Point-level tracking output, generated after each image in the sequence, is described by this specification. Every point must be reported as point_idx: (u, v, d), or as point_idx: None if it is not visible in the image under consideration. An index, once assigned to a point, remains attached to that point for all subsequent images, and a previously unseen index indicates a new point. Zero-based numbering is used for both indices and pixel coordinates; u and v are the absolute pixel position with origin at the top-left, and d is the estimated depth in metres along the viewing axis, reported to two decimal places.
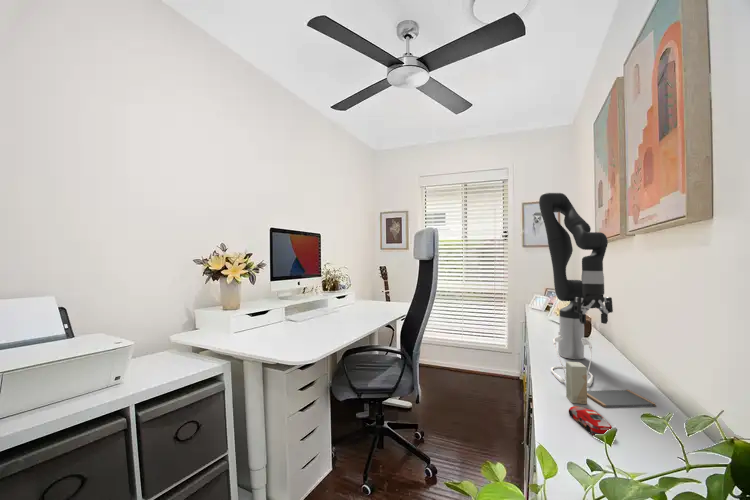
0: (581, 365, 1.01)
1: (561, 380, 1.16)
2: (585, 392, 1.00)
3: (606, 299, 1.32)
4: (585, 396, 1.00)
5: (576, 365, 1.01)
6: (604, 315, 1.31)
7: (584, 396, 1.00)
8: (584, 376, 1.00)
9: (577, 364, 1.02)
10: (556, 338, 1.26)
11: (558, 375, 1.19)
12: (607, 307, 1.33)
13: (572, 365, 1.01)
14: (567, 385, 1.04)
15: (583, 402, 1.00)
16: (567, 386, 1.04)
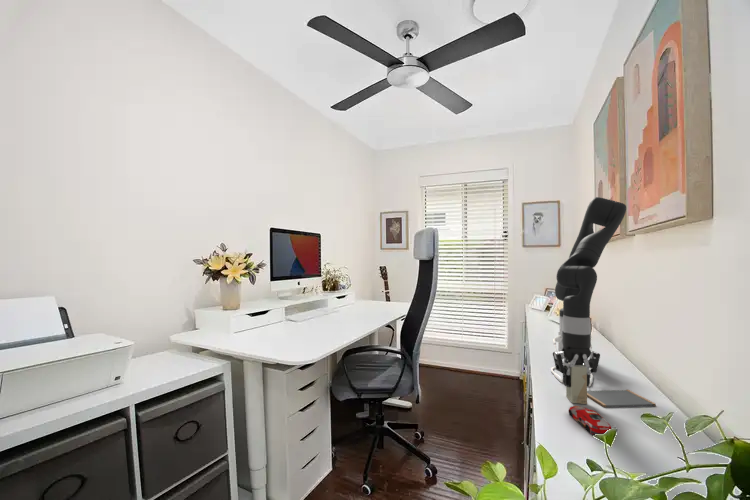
0: (581, 365, 1.01)
1: (561, 380, 1.16)
2: (585, 392, 1.00)
3: (593, 354, 1.02)
4: (585, 396, 1.00)
5: (576, 365, 1.01)
6: None
7: (584, 396, 1.00)
8: (584, 376, 1.00)
9: (577, 364, 1.02)
10: (556, 338, 1.26)
11: (558, 375, 1.19)
12: (591, 364, 1.03)
13: None
14: None
15: (583, 402, 1.00)
16: None
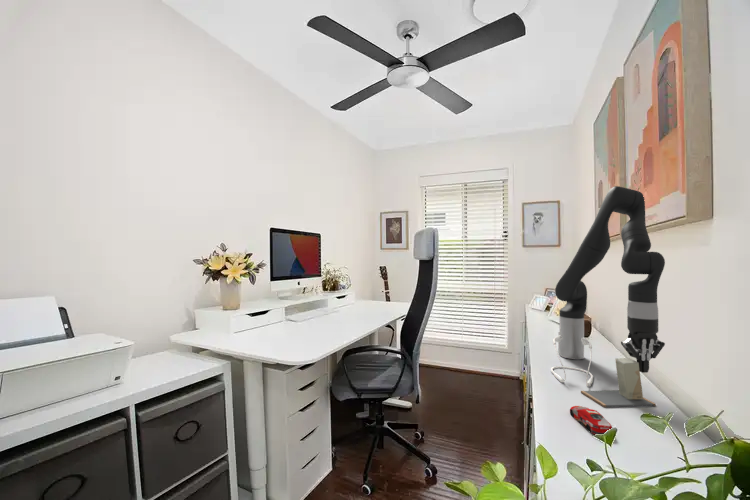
0: (632, 361, 1.02)
1: (561, 380, 1.16)
2: (640, 387, 1.01)
3: (657, 342, 1.03)
4: (640, 391, 1.01)
5: (627, 361, 1.02)
6: (645, 362, 1.03)
7: (639, 391, 1.01)
8: (637, 372, 1.01)
9: (628, 360, 1.03)
10: (556, 338, 1.26)
11: (558, 375, 1.19)
12: None
13: (624, 362, 1.02)
14: (619, 381, 1.05)
15: (639, 397, 1.01)
16: (620, 383, 1.05)
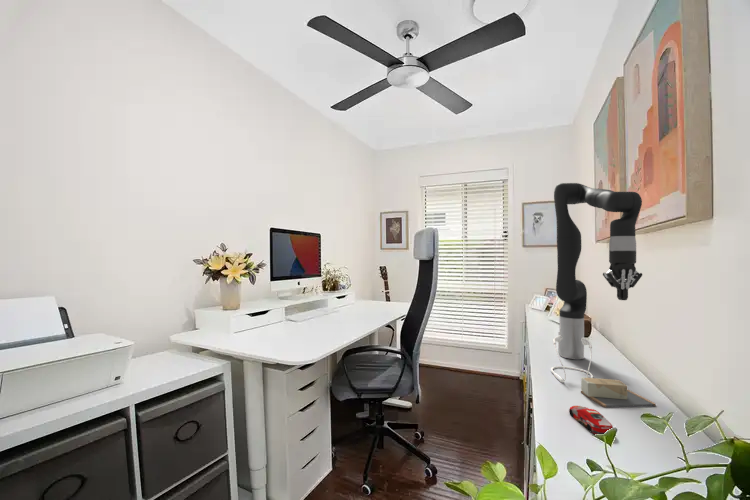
0: (585, 384, 1.05)
1: (561, 380, 1.16)
2: (615, 386, 1.02)
3: (636, 273, 1.15)
4: (619, 387, 1.02)
5: (586, 389, 1.04)
6: None
7: (619, 388, 1.02)
8: (597, 386, 1.03)
9: (584, 386, 1.05)
10: (556, 338, 1.26)
11: (558, 375, 1.19)
12: (629, 282, 1.16)
13: (587, 394, 1.04)
14: None
15: (625, 389, 1.01)
16: None
